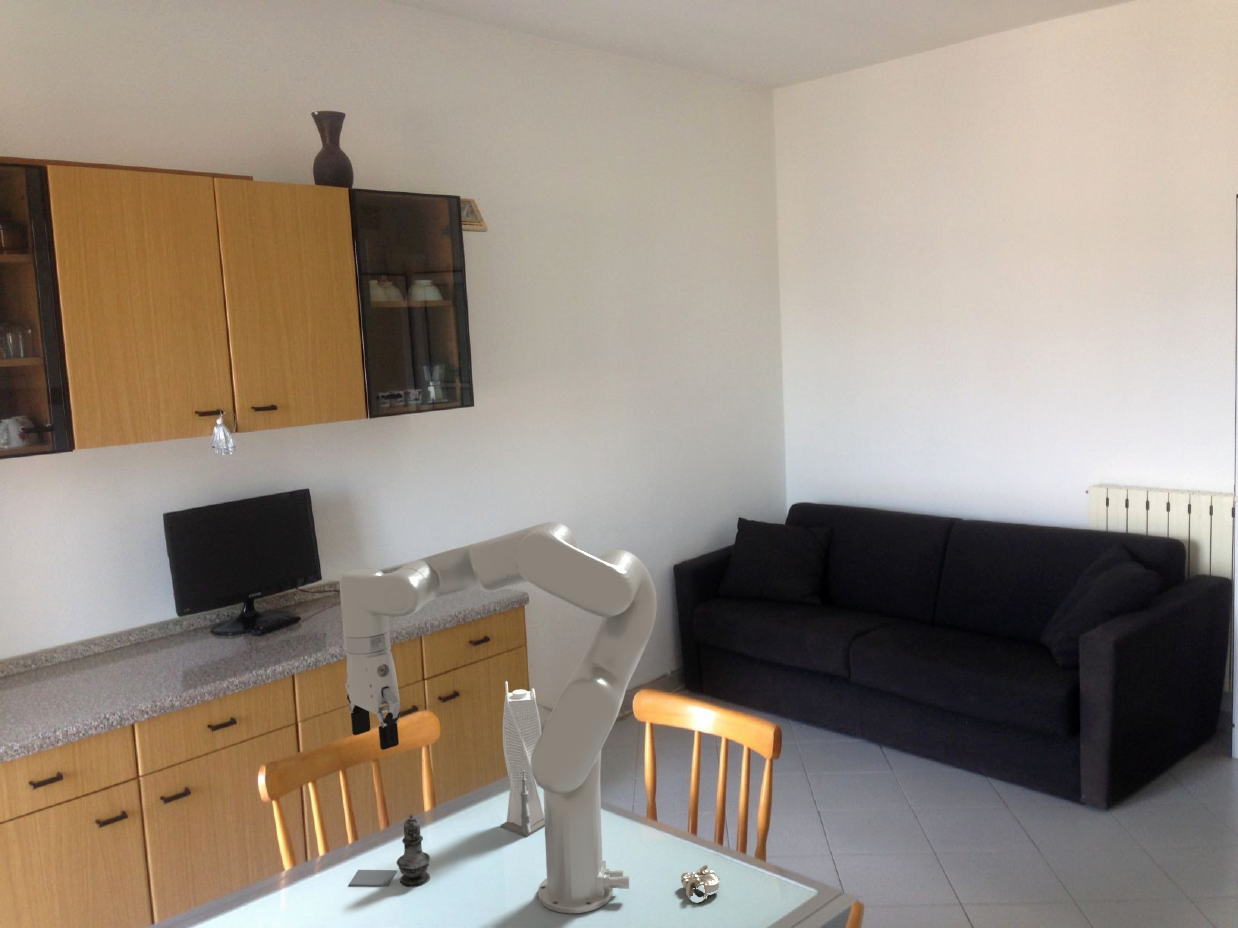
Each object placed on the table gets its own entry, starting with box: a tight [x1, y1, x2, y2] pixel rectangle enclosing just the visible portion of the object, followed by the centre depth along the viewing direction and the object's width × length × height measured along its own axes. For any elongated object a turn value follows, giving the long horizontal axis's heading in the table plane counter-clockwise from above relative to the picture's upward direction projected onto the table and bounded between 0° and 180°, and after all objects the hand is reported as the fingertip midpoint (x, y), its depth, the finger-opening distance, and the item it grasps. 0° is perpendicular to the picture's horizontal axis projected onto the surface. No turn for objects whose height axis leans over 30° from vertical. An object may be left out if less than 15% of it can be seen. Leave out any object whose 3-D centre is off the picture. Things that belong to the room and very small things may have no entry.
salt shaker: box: [396, 813, 431, 888], centre depth 181 cm, size 6×6×12 cm
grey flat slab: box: [348, 869, 398, 887], centre depth 182 cm, size 7×5×1 cm
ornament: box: [680, 864, 721, 899], centre depth 175 cm, size 8×7×4 cm
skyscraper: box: [499, 680, 545, 838], centre depth 200 cm, size 8×8×28 cm
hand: (375, 739), depth 177 cm, fingers open, 9 cm apart
